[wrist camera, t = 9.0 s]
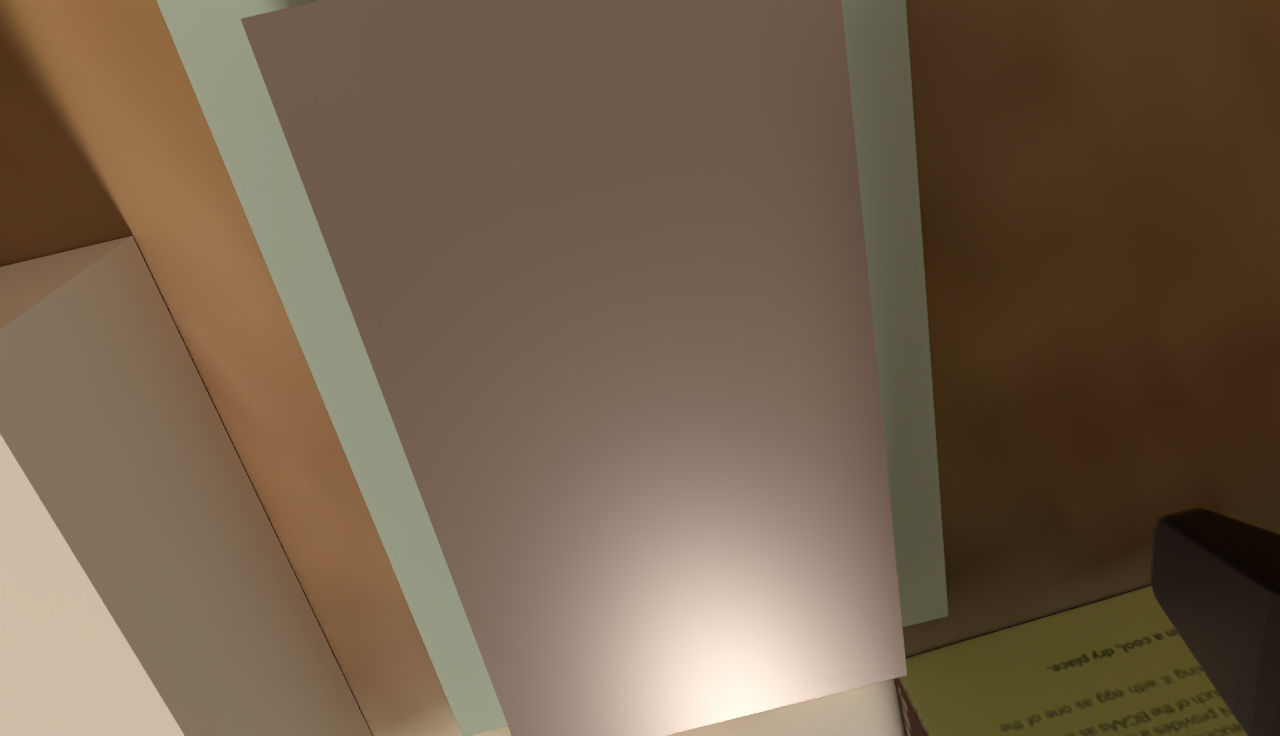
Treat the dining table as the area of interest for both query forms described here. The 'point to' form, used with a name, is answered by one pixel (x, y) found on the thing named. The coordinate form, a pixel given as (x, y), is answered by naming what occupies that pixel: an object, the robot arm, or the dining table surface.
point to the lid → (615, 335)
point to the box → (137, 530)
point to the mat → (326, 330)
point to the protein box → (1067, 679)
